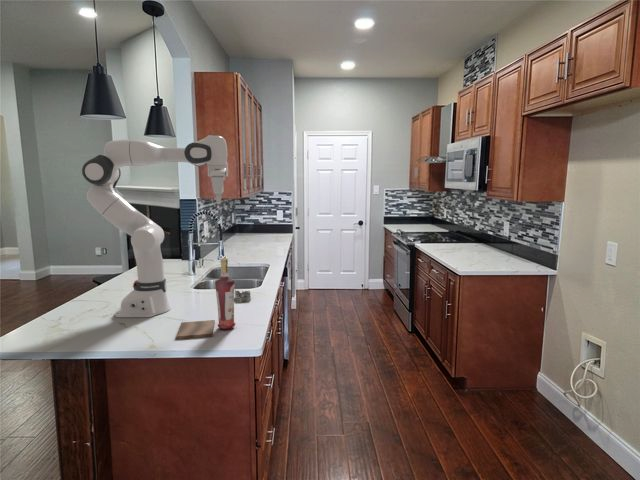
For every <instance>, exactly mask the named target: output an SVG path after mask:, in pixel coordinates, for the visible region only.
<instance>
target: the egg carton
mask: <svg viewBox="0 0 640 480" xmlns="http://www.w3.org/2000/svg"><path fill="white" fill-rule="evenodd" d="M251 294H252V293H251V291H250V290H245V291H243V290H242V291H241V292H240V290H236V289H234V299H235V300H236V302H237V303H243V302H249V301H251V300H252V298H251Z"/></svg>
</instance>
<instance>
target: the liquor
mask: <svg viewBox="0 0 640 480" xmlns="http://www.w3.org/2000/svg"><path fill="white" fill-rule="evenodd" d="M228 264H229V263H228V258H226V257H225V258H224V257H223V258H220V266H221V270H220V271H221V273H220V278H219V279H217V280H216V281H215V283H214V284H215V295H216V303H217V315H218V317H217V318H218V323H217V327H218V328H219V329H221V330H223V331H228V330H231V329H233V328H234V327H235V326H236V322H235V280H234V279H233V278H230V277H229V271H228V270H229V269H228Z"/></svg>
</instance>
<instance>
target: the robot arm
mask: <svg viewBox="0 0 640 480" xmlns="http://www.w3.org/2000/svg"><path fill="white" fill-rule="evenodd" d="M228 153H229V152H228V145H227V141H226V139H225V138H224V137H223V136H220V135H217V134H208V135H207V136H206V137H204V138H202V139H200V140H197V141H193V142H190V143H188V144H187V146H185V147H167V146H163V145H160V144H159V145H158V144H156V143H153V142H150V141H147V140H142V139H116V140H110V141H107V142H106V143H105V145H104V147H103V154H99V155H98V154H97V156H94V157H92V158H90V159H89V160H87V161H86V162H85V163H84V164H83V166H82V169H81V173H82V174H81V175H82V177H83V178H84V180H85V181H87V182H88V183H90V184H91V187H90V188H89V189H88V191H87V192H86V195H85V196H86V200H87V201H88V203H89V204H90V205H91V206H92V208H94V210H96V211H97V212H98V214H100V215H101V216H102V217H103V218H104V219H106V221H108V222H109V223H111V224H112V225H113V226H114V227H115V228H116V229H118V230H120V231H122V232H124V233H125V234H126V235H128V236H131V237H130V243H131V247H132V250H133V254H134V258H135V263H136V271H137V272H136V274H137V279H135V280H134V282H133V284H132V287H133V289H132V290H131V291H130V292H129V293H128V294H126V295H125V296H124V297H123V298H122V299H121V302H120V306H119V307H120V308H118V309H117V310H116V311H114V312H115V313H114V317H115V318H152V317H154V316H157V315H161V314H164V313H166V312H168V311H170V310H171V306H170V304H169V301H168V296H167V287H168V286H167V281H166V278H165V265H164V264H165V263H164V260H163V259H164V258H163V255H162V250H161V244H162V243H163V242H164V240H165V231H164V230H163V228H162V227H161V226H160V225H158V224H157V222H156V223H155V222H154V221H153V220H152V219H151V218H149V217H148V216H146V215H144V214H143V213H142V212H140V211H139V210H138V209H136V208H135V207H134V206H132V205H131V204H130V203H129V202H128V201H127V200H126V199H124V198H123V197H122V196H121V195H120V194H119V193H118V192H117V191H116V190H115V189H114V188H116V186H117V184H118V181H119V180H120V179H121V174H122V173H121V168H123V167H142V166H144V167H145V166H150V165H155V164H159V163H167V162H168V163H169V162H170V163H188V164H191V165H193V166H196V167H204V166H207V177H210V181H211V186H212V191H213V192H212V193H213V194H214V195H215V199H216V204H217V205H221V204H222V202H223V201H222V200H223V197H222V195H223V193H224V181H226V179H227V178H226V177H229V166H228V165H229V164H228V157H229V155H228Z"/></svg>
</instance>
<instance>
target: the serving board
mask: <svg viewBox="0 0 640 480" xmlns="http://www.w3.org/2000/svg"><path fill="white" fill-rule="evenodd" d="M215 323H216V322H215V319H212V320H210V319H209V320H198V321H197V320H196V321H182V322H181V323H180V325H179V328H178V330H177V332H176V335H175V340H188V339H199V338H210V337H213V335H214V328H215Z"/></svg>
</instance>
